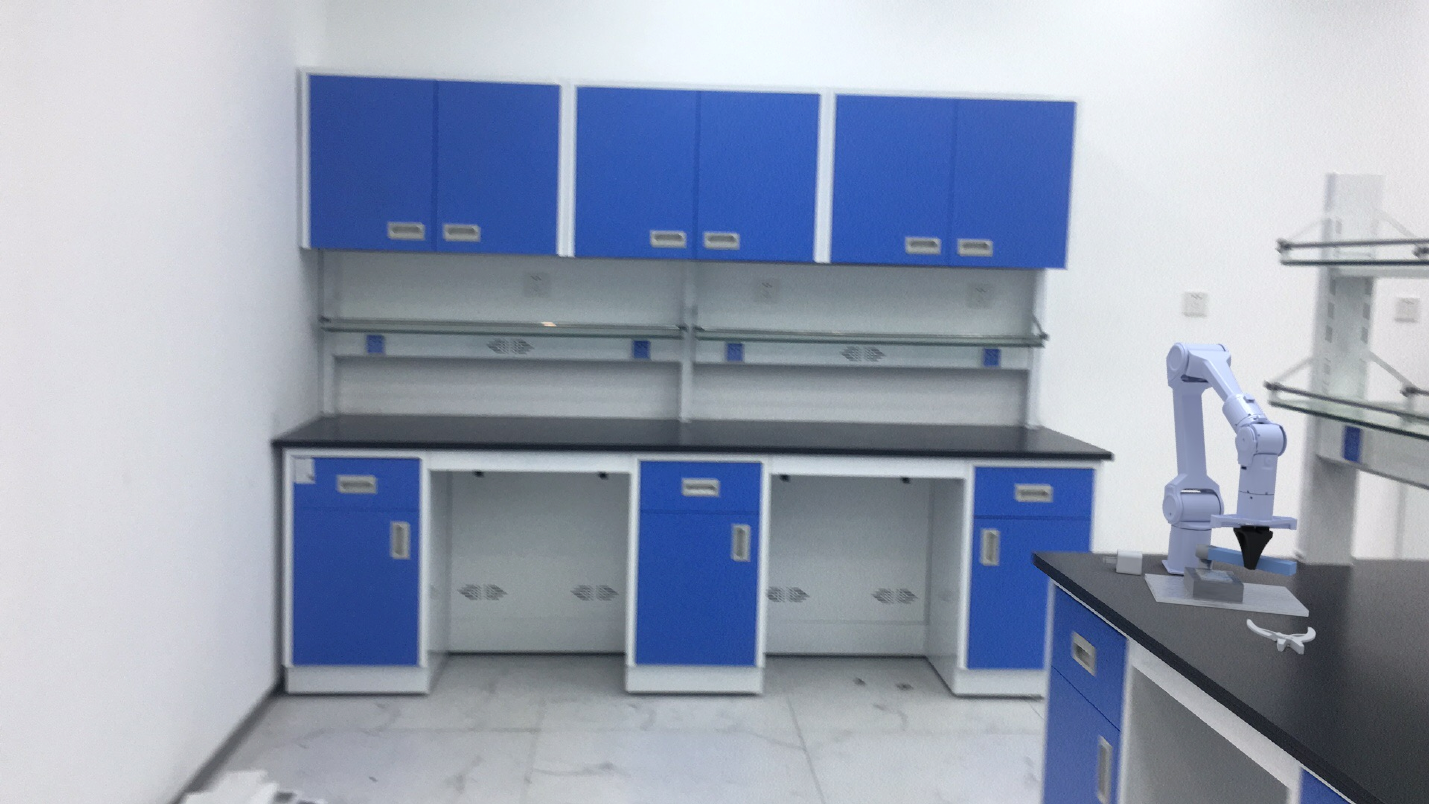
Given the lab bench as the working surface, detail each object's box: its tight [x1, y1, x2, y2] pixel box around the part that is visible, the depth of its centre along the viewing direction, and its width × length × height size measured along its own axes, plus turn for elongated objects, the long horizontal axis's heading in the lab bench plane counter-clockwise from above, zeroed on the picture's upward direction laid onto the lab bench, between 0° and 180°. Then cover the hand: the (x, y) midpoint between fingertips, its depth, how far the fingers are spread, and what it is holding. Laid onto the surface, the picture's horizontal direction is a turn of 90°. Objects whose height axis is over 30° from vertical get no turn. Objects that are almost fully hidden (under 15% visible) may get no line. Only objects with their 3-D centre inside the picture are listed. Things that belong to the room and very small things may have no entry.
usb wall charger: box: [1102, 548, 1143, 576], centre depth 213 cm, size 4×7×4 cm, turn 72°
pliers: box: [1246, 618, 1316, 655], centre depth 174 cm, size 10×2×15 cm
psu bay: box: [1144, 558, 1310, 618], centre depth 197 cm, size 16×24×5 cm, turn 76°
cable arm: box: [1195, 544, 1298, 577], centre depth 199 cm, size 17×4×2 cm, turn 43°
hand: (1249, 568), depth 195 cm, fingers closed
